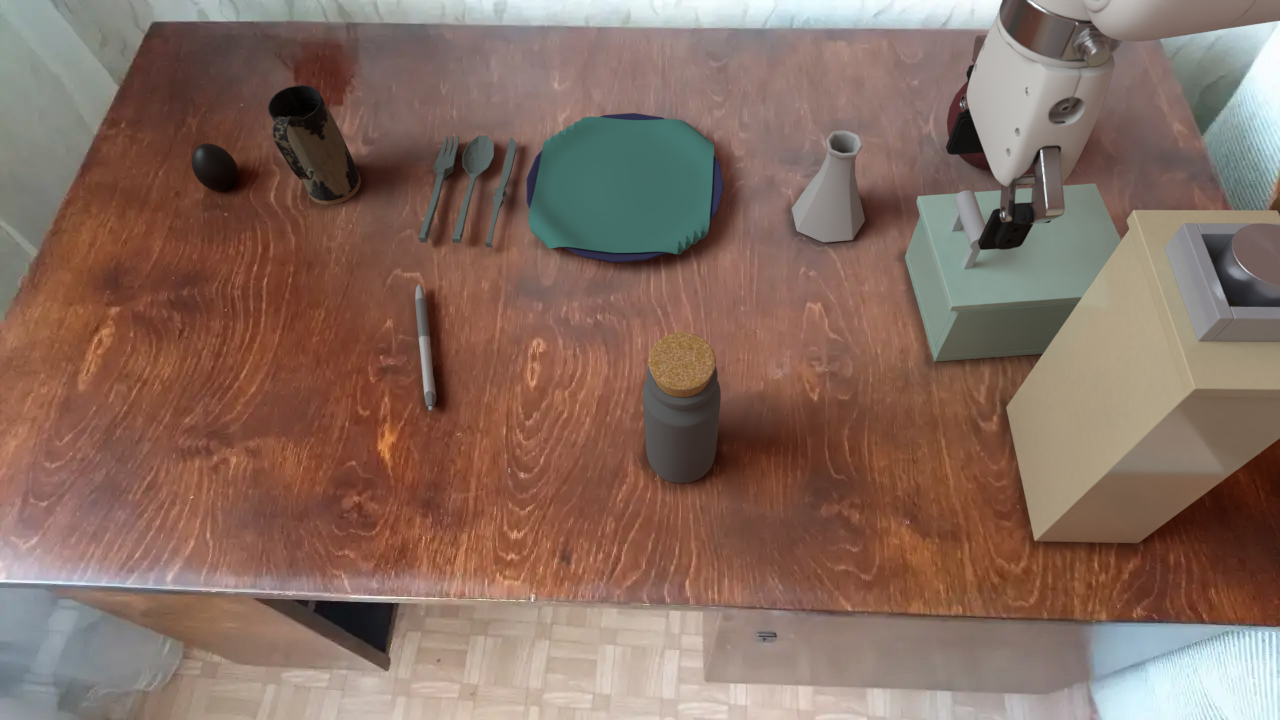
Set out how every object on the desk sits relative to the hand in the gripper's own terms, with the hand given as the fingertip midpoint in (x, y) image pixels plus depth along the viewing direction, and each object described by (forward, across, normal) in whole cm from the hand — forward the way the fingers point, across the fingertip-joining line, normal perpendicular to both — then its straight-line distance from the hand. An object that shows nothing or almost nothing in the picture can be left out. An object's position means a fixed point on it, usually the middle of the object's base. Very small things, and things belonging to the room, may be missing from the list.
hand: (981, 196), depth 67 cm
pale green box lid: (+7, 0, -6) cm, 9 cm away
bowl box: (+15, 0, -6) cm, 16 cm away
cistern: (+14, -18, -7) cm, 24 cm away
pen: (+15, -1, +47) cm, 49 cm away
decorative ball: (+15, +18, -10) cm, 25 cm away
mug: (+15, +19, +58) cm, 63 cm away
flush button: (-12, -17, -7) cm, 22 cm away
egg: (+15, +22, +70) cm, 75 cm away
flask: (+15, +11, +8) cm, 20 cm away
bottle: (+15, -13, +25) cm, 32 cm away
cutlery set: (+15, +17, +33) cm, 40 cm away
